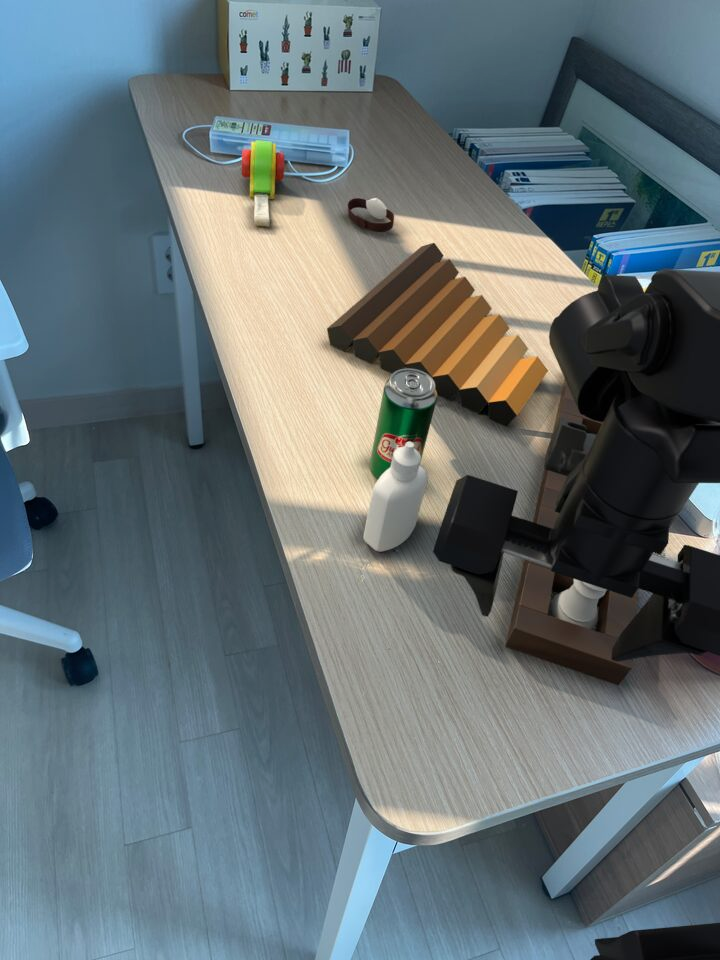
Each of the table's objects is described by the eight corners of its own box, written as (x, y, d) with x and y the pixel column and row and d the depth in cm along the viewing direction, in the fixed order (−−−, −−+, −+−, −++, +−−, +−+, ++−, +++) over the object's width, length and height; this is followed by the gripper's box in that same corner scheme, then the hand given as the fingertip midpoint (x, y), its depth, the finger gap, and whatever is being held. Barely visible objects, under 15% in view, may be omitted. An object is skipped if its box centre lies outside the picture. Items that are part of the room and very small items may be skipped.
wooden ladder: (618, 686, 64) (632, 668, 62) (504, 646, 66) (514, 628, 63) (645, 403, 91) (655, 384, 89) (564, 380, 93) (572, 360, 90)
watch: (399, 227, 113) (402, 204, 111) (382, 239, 110) (385, 216, 108) (356, 208, 116) (359, 186, 113) (339, 219, 113) (341, 196, 110)
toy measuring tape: (282, 168, 122) (284, 127, 117) (283, 230, 109) (285, 186, 104) (242, 165, 121) (243, 123, 116) (238, 227, 108) (238, 182, 103)
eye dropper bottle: (355, 520, 73) (371, 430, 65) (409, 512, 75) (432, 423, 66) (367, 555, 70) (386, 466, 62) (423, 546, 72) (449, 458, 63)
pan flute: (418, 259, 108) (325, 342, 92) (422, 238, 105) (327, 319, 89) (582, 327, 101) (512, 429, 85) (591, 305, 98) (520, 406, 83)
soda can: (367, 486, 76) (384, 397, 68) (370, 451, 80) (386, 362, 71) (416, 493, 77) (440, 404, 68) (417, 457, 80) (439, 369, 71)
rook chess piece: (535, 607, 69) (562, 554, 63) (574, 593, 70) (605, 540, 65) (563, 648, 66) (594, 596, 60) (603, 633, 68) (637, 581, 62)
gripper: (796, 439, 46) (685, 588, 57) (498, 352, 48) (448, 511, 60) (813, 578, 38) (681, 718, 49) (458, 465, 41) (410, 623, 52)
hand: (549, 632), depth 53 cm, fingers open, 9 cm apart
